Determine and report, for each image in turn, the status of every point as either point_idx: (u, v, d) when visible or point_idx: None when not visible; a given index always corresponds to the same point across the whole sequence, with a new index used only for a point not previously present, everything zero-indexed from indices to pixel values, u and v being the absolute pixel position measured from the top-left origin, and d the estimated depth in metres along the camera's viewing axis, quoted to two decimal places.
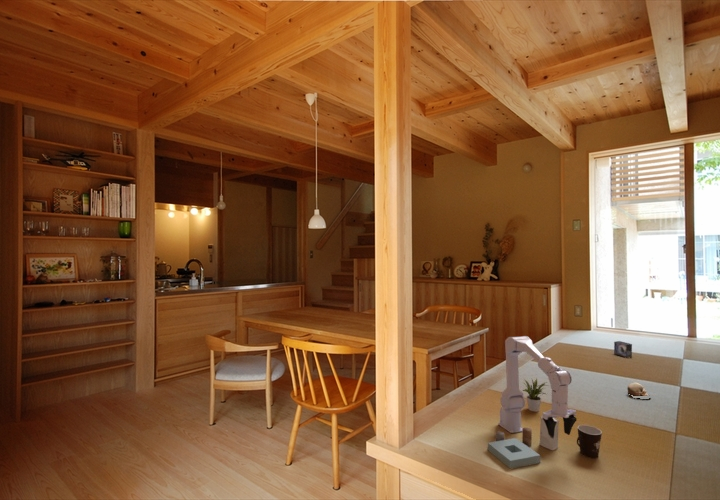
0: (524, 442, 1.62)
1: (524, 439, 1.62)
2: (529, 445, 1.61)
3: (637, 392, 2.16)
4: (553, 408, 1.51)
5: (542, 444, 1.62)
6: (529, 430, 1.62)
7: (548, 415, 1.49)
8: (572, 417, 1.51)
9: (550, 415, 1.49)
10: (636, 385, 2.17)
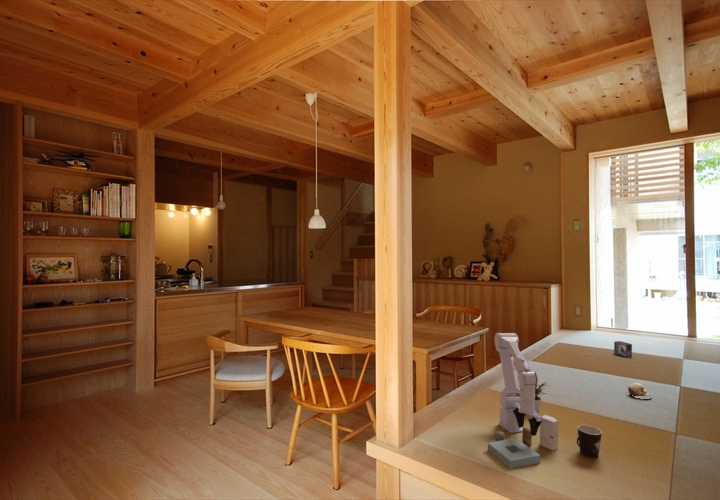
0: (524, 442, 1.62)
1: (524, 439, 1.62)
2: (529, 445, 1.61)
3: (638, 392, 2.16)
4: None
5: (542, 444, 1.62)
6: (529, 430, 1.62)
7: (515, 405, 1.69)
8: (532, 419, 1.58)
9: (516, 405, 1.68)
10: (637, 385, 2.17)
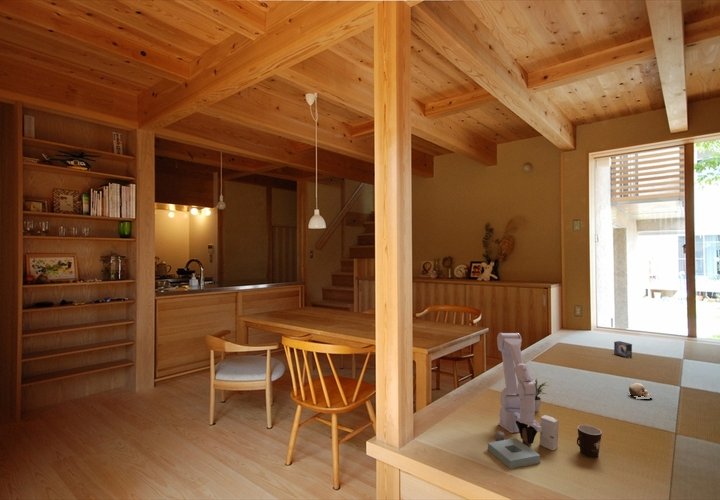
0: (524, 442, 1.62)
1: (524, 439, 1.62)
2: (529, 445, 1.61)
3: (639, 392, 2.15)
4: None
5: (542, 444, 1.62)
6: None
7: (515, 414, 1.69)
8: (529, 428, 1.60)
9: (516, 415, 1.68)
10: (638, 385, 2.17)
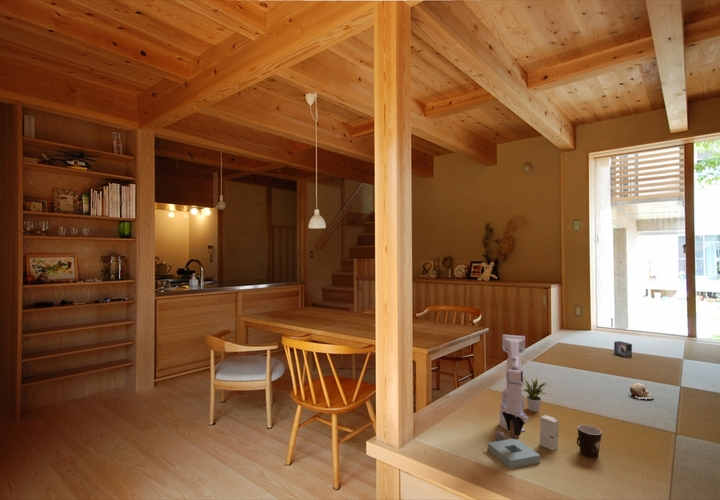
0: (512, 435, 1.53)
1: (512, 431, 1.53)
2: (517, 438, 1.52)
3: (640, 393, 2.15)
4: None
5: (542, 444, 1.62)
6: None
7: (502, 405, 1.60)
8: (516, 418, 1.51)
9: (502, 405, 1.59)
10: (639, 386, 2.16)
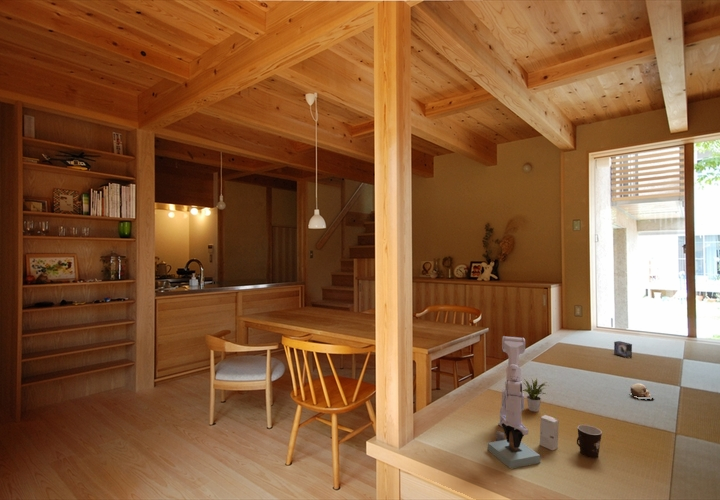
0: (511, 447, 1.53)
1: (511, 443, 1.53)
2: (516, 450, 1.52)
3: (640, 393, 2.15)
4: None
5: (542, 444, 1.62)
6: None
7: (501, 416, 1.59)
8: (515, 430, 1.50)
9: (502, 417, 1.58)
10: (639, 386, 2.16)
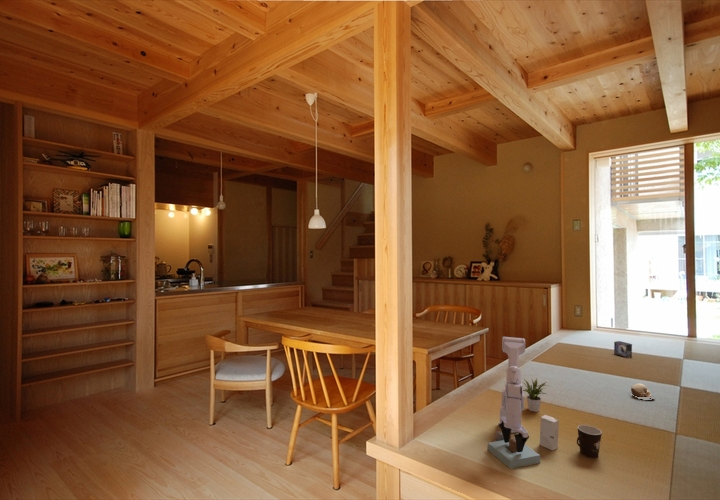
0: None
1: (511, 450, 1.53)
2: None
3: (641, 393, 2.14)
4: None
5: (542, 444, 1.62)
6: None
7: (501, 418, 1.59)
8: (518, 435, 1.49)
9: (502, 419, 1.58)
10: (640, 386, 2.16)
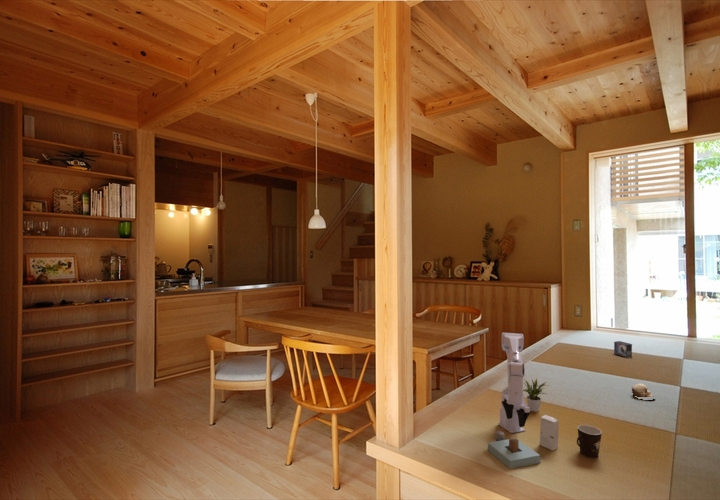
0: None
1: (511, 450, 1.53)
2: None
3: (642, 393, 2.14)
4: None
5: (542, 444, 1.62)
6: (516, 441, 1.53)
7: (504, 396, 1.67)
8: (520, 410, 1.56)
9: (504, 397, 1.66)
10: (640, 386, 2.16)
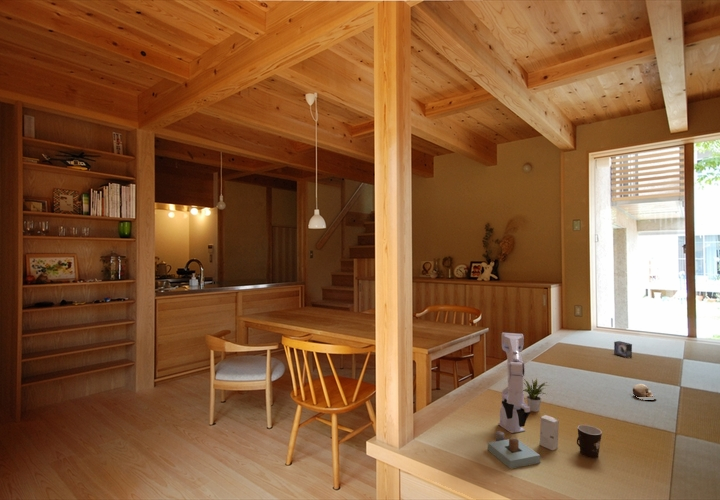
0: None
1: (511, 450, 1.53)
2: None
3: (643, 393, 2.14)
4: None
5: (542, 444, 1.62)
6: (516, 441, 1.53)
7: (504, 396, 1.67)
8: (520, 410, 1.56)
9: (504, 397, 1.66)
10: (641, 386, 2.15)
